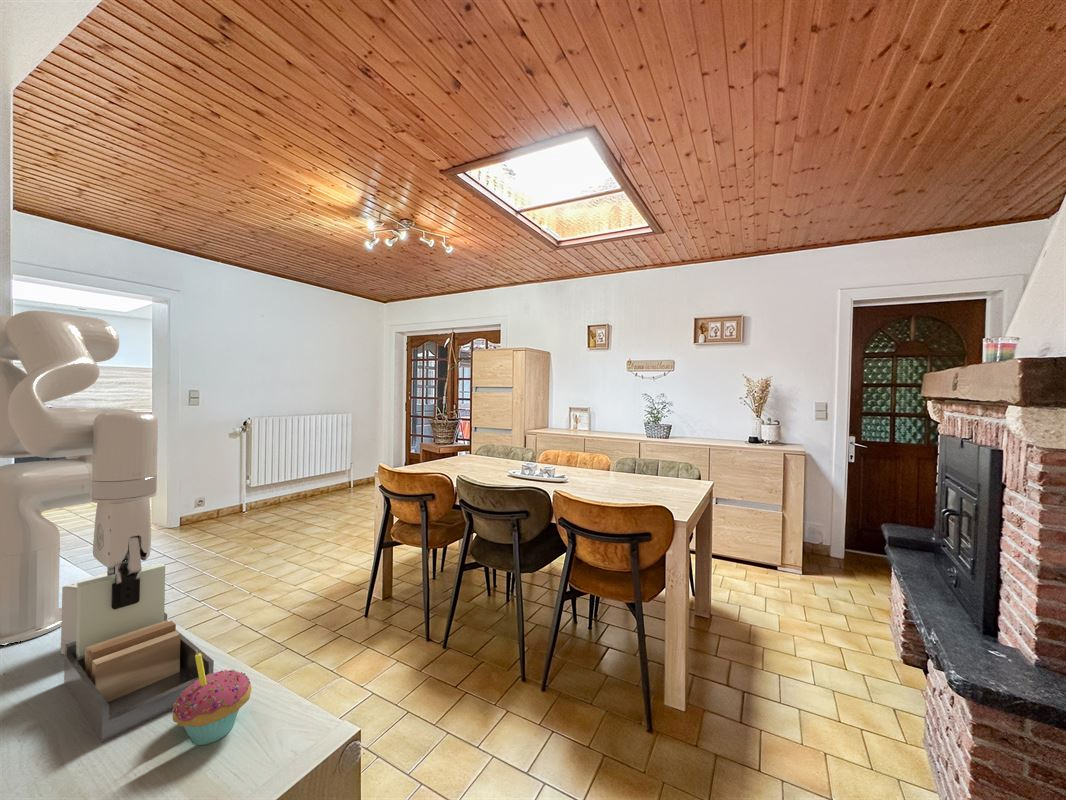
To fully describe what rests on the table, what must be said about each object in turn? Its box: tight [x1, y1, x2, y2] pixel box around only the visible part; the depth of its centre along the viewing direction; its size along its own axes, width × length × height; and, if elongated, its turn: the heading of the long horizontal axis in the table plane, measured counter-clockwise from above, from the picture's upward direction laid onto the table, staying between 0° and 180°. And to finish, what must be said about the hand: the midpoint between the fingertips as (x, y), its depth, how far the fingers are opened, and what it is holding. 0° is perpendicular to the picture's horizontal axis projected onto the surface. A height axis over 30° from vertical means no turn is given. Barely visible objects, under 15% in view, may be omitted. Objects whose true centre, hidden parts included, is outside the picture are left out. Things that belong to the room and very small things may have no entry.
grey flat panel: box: [76, 562, 166, 660], centre depth 69 cm, size 2×10×15 cm, turn 147°
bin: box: [63, 612, 215, 744], centre depth 65 cm, size 20×12×7 cm, turn 57°
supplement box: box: [60, 571, 107, 655], centre depth 75 cm, size 7×7×13 cm
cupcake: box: [172, 650, 252, 746], centre depth 58 cm, size 9×8×12 cm
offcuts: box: [85, 619, 180, 702], centre depth 66 cm, size 6×10×7 cm, turn 147°
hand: (123, 602), depth 69 cm, fingers closed on grey flat panel, 2 cm apart
